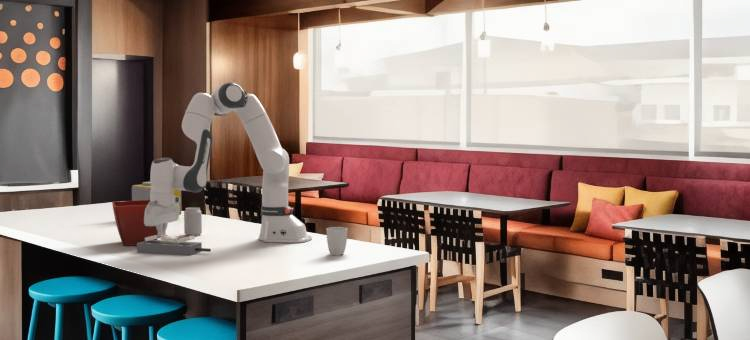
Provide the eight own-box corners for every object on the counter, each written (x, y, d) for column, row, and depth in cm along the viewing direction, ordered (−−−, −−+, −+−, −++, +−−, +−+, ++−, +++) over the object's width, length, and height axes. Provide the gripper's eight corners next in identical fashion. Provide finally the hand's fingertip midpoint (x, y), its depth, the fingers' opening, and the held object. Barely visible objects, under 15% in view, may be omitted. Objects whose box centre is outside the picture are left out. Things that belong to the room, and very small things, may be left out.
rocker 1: (161, 237, 335) (161, 233, 335) (157, 238, 332) (156, 234, 332) (149, 240, 337) (148, 236, 337) (145, 241, 334) (144, 237, 334)
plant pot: (112, 240, 359) (111, 200, 358) (159, 238, 366) (158, 199, 365) (116, 248, 342) (115, 206, 340) (165, 245, 348) (164, 204, 347)
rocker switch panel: (215, 252, 332) (215, 242, 332) (204, 256, 324) (204, 246, 323) (149, 248, 340) (149, 239, 340) (137, 252, 332) (136, 242, 332)
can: (197, 236, 371) (197, 209, 370) (181, 236, 373) (181, 208, 372) (204, 234, 378) (204, 207, 378) (188, 233, 380) (188, 206, 379)
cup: (336, 251, 334) (336, 226, 333) (351, 254, 329) (351, 228, 328) (322, 254, 328) (321, 228, 327) (337, 256, 322) (337, 230, 322)
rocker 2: (177, 240, 333) (177, 237, 333) (173, 242, 330) (173, 238, 330) (164, 238, 335) (165, 234, 335) (160, 239, 332) (160, 235, 332)
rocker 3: (194, 238, 331) (193, 235, 331) (190, 240, 328) (189, 236, 328) (181, 242, 333) (180, 238, 333) (177, 243, 330) (176, 239, 330)
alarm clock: (163, 215, 440) (163, 179, 439) (182, 218, 430) (182, 181, 429) (130, 219, 426) (129, 182, 424) (149, 222, 415) (148, 184, 414)
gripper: (154, 202, 322) (154, 239, 323) (182, 197, 341) (181, 232, 342) (139, 201, 323) (139, 238, 324) (168, 196, 343) (167, 231, 344)
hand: (161, 235), depth 333 cm, fingers closed, pressing on rocker 2
